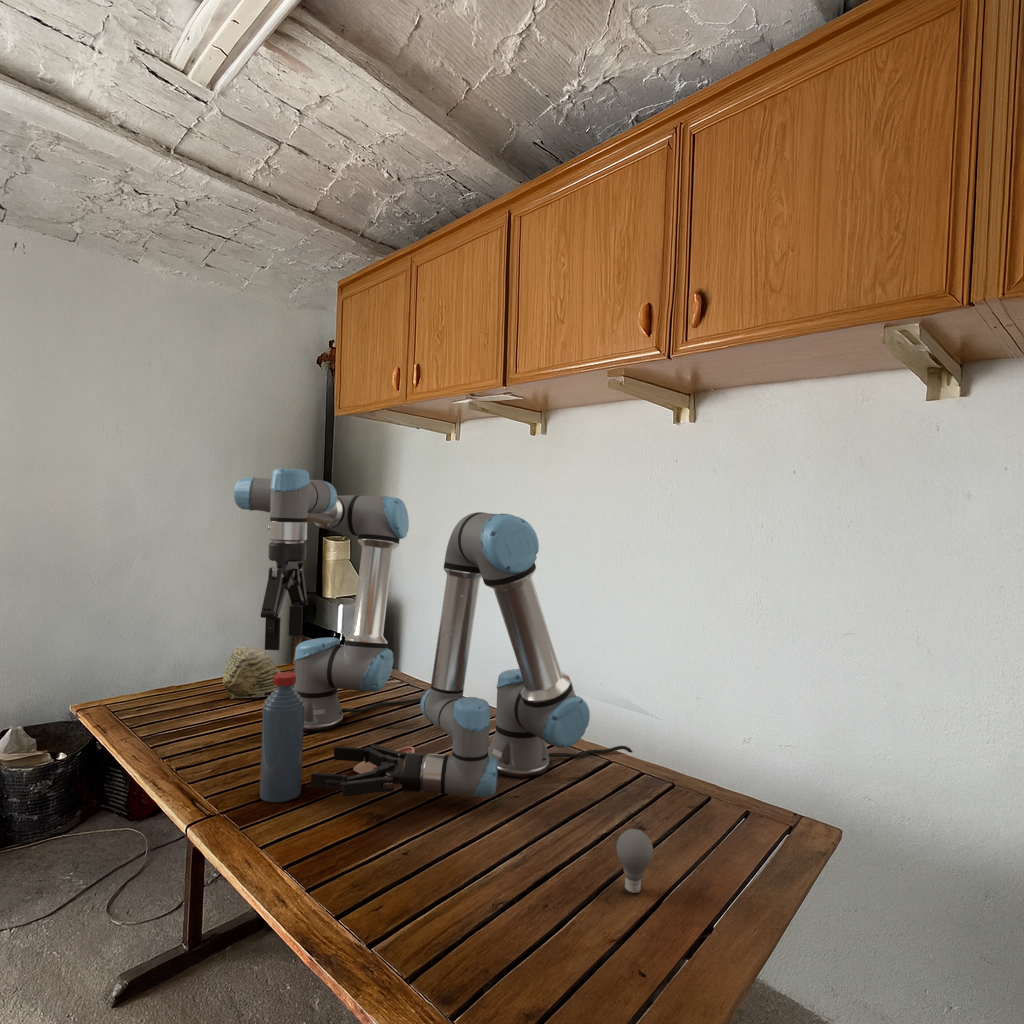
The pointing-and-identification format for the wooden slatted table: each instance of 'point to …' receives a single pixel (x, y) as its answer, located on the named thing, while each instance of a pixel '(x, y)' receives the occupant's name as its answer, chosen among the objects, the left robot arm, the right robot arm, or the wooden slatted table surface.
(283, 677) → the cap
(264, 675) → the fossil
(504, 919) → the wooden slatted table surface
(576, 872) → the wooden slatted table surface
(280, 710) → the bottle
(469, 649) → the right robot arm
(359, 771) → the anatomical model
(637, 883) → the light bulb
